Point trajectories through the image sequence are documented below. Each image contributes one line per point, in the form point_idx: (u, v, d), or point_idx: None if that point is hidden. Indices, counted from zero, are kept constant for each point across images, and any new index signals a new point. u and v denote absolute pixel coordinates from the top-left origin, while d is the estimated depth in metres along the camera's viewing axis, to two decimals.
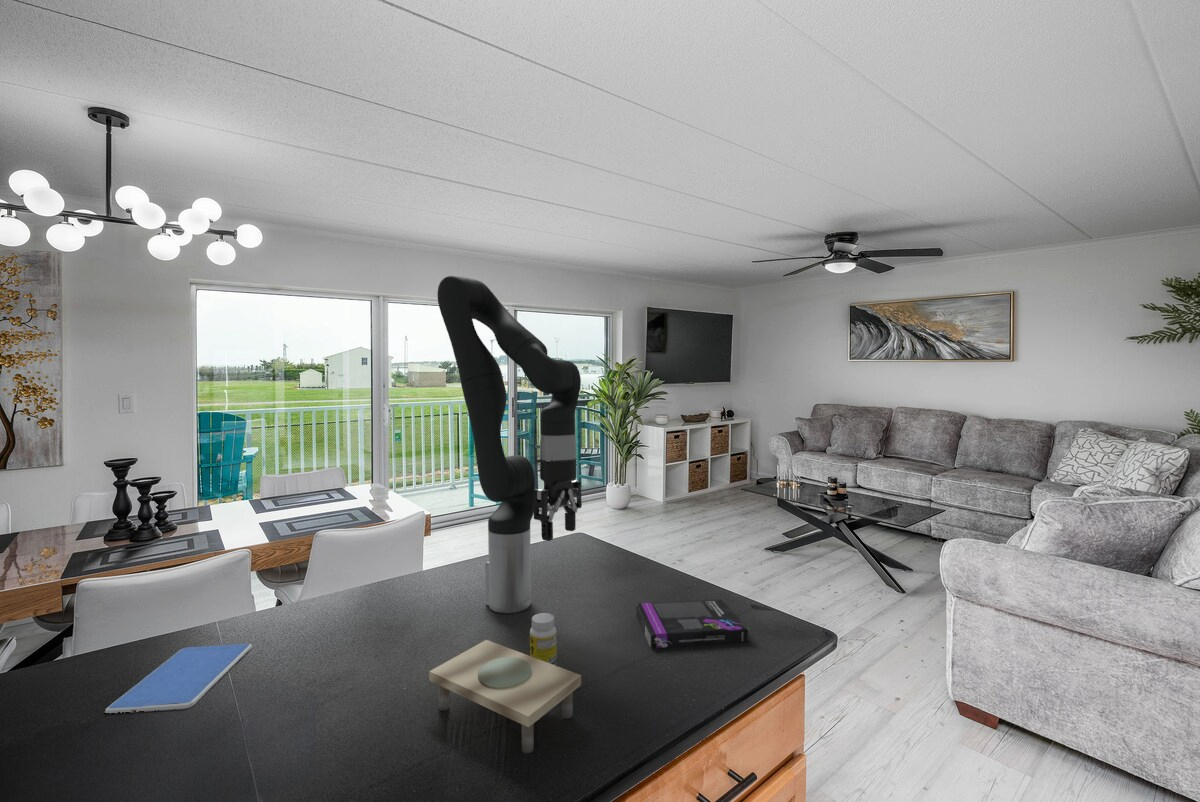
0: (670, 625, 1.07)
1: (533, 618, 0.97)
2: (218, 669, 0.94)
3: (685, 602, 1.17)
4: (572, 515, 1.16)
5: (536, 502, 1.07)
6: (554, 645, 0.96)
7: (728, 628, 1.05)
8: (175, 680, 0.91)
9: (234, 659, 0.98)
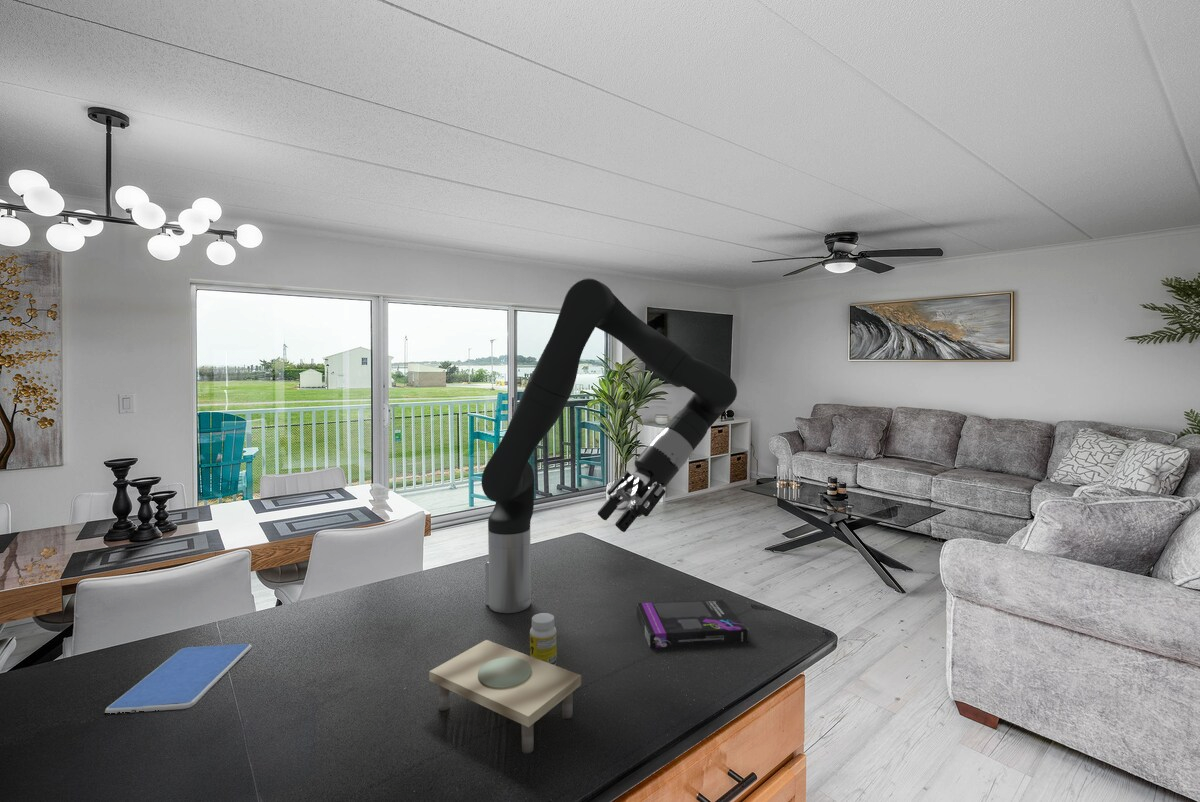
0: (670, 625, 1.07)
1: (533, 618, 0.97)
2: (218, 669, 0.94)
3: (685, 602, 1.17)
4: (615, 506, 1.06)
5: (651, 495, 0.97)
6: (554, 645, 0.96)
7: (728, 629, 1.05)
8: (175, 680, 0.91)
9: (234, 659, 0.98)
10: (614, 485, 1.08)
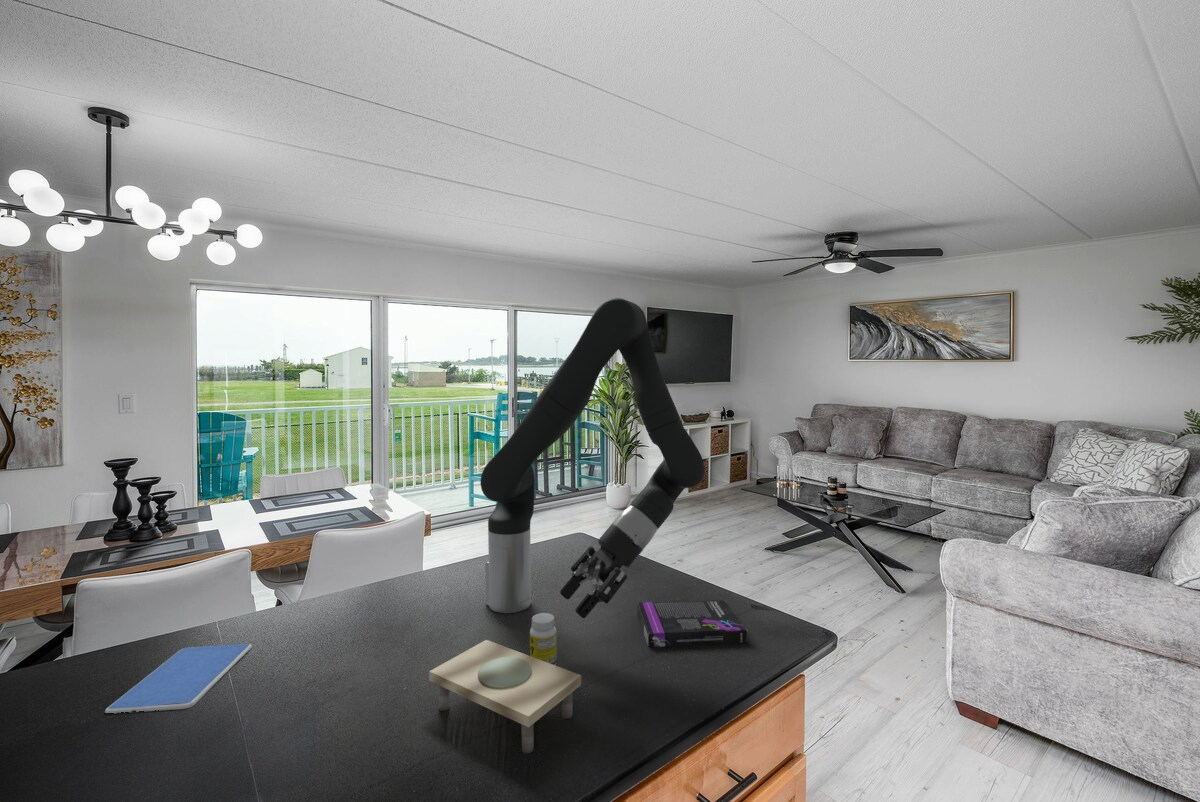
0: (669, 624, 1.07)
1: (533, 618, 0.97)
2: (218, 669, 0.94)
3: (686, 602, 1.17)
4: (578, 585, 1.04)
5: (612, 581, 0.94)
6: (554, 645, 0.96)
7: (727, 629, 1.05)
8: (175, 680, 0.91)
9: (234, 660, 0.98)
10: (578, 561, 1.06)
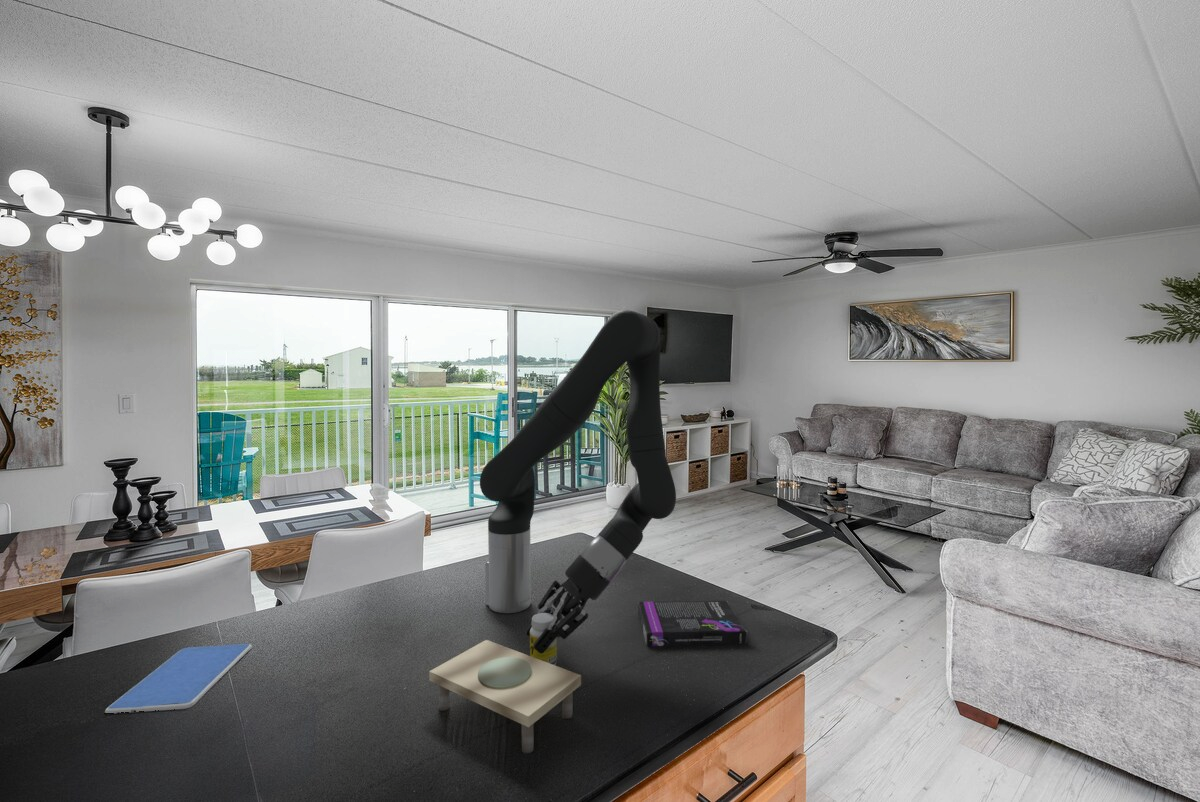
0: (668, 624, 1.07)
1: (533, 618, 0.97)
2: (218, 669, 0.94)
3: (687, 602, 1.17)
4: None
5: (571, 620, 0.92)
6: (554, 645, 0.96)
7: (726, 630, 1.05)
8: (175, 680, 0.91)
9: (234, 660, 0.98)
10: (544, 598, 1.03)
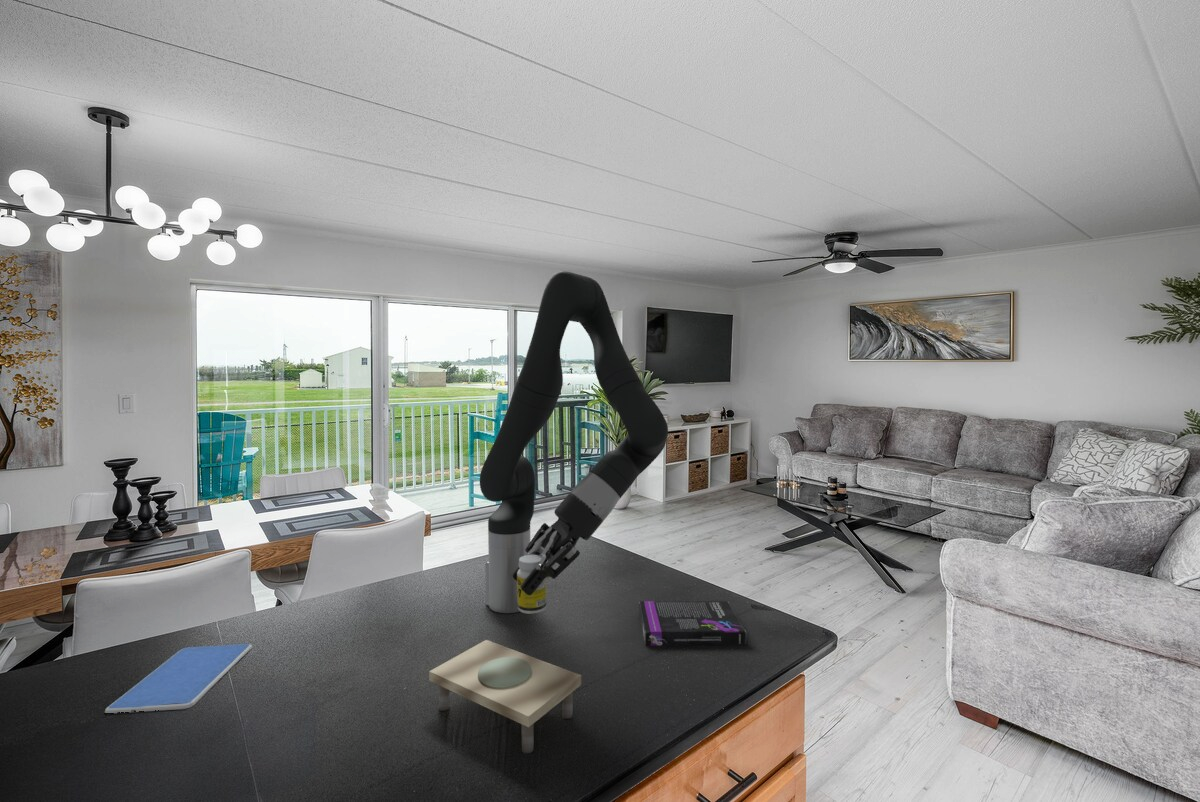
0: (667, 624, 1.07)
1: (520, 559, 0.90)
2: (218, 669, 0.94)
3: (688, 602, 1.17)
4: None
5: (561, 558, 0.86)
6: (543, 587, 0.90)
7: (725, 630, 1.05)
8: (175, 680, 0.91)
9: (234, 660, 0.98)
10: (532, 541, 0.96)
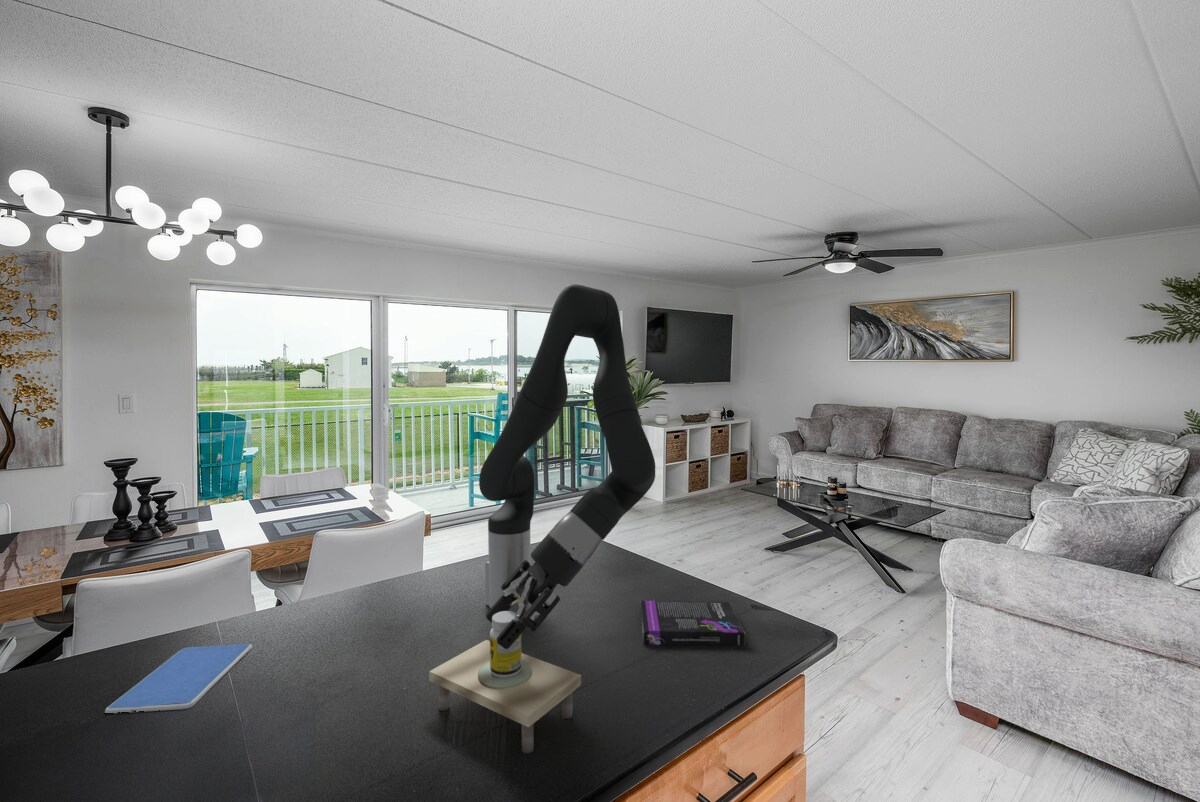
0: (666, 623, 1.07)
1: (493, 617, 0.83)
2: (218, 669, 0.94)
3: (689, 602, 1.17)
4: (508, 607, 0.87)
5: (540, 605, 0.78)
6: (518, 649, 0.82)
7: (724, 631, 1.04)
8: (175, 680, 0.91)
9: (234, 660, 0.98)
10: (510, 578, 0.90)
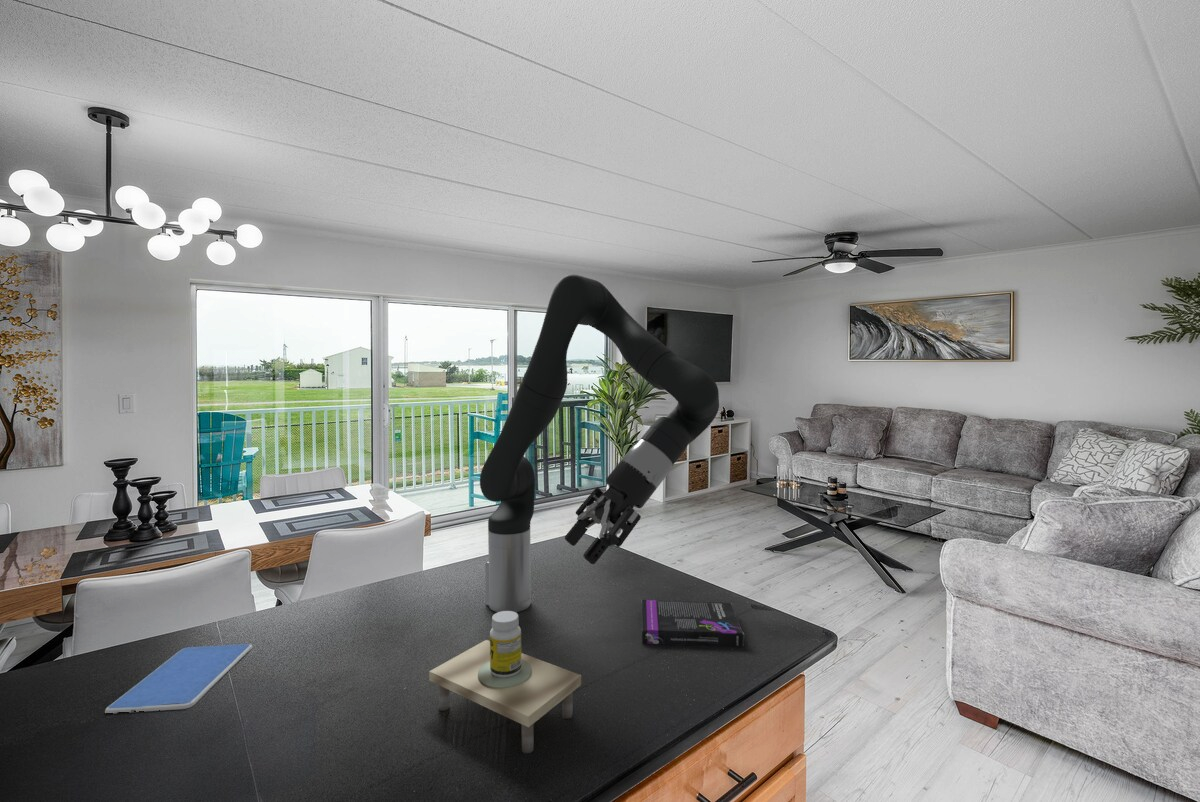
0: (665, 623, 1.08)
1: (493, 617, 0.83)
2: (218, 669, 0.94)
3: (690, 602, 1.17)
4: (585, 530, 0.93)
5: (624, 522, 0.83)
6: (518, 648, 0.82)
7: (722, 631, 1.04)
8: (175, 680, 0.91)
9: (234, 660, 0.98)
10: (584, 504, 0.95)
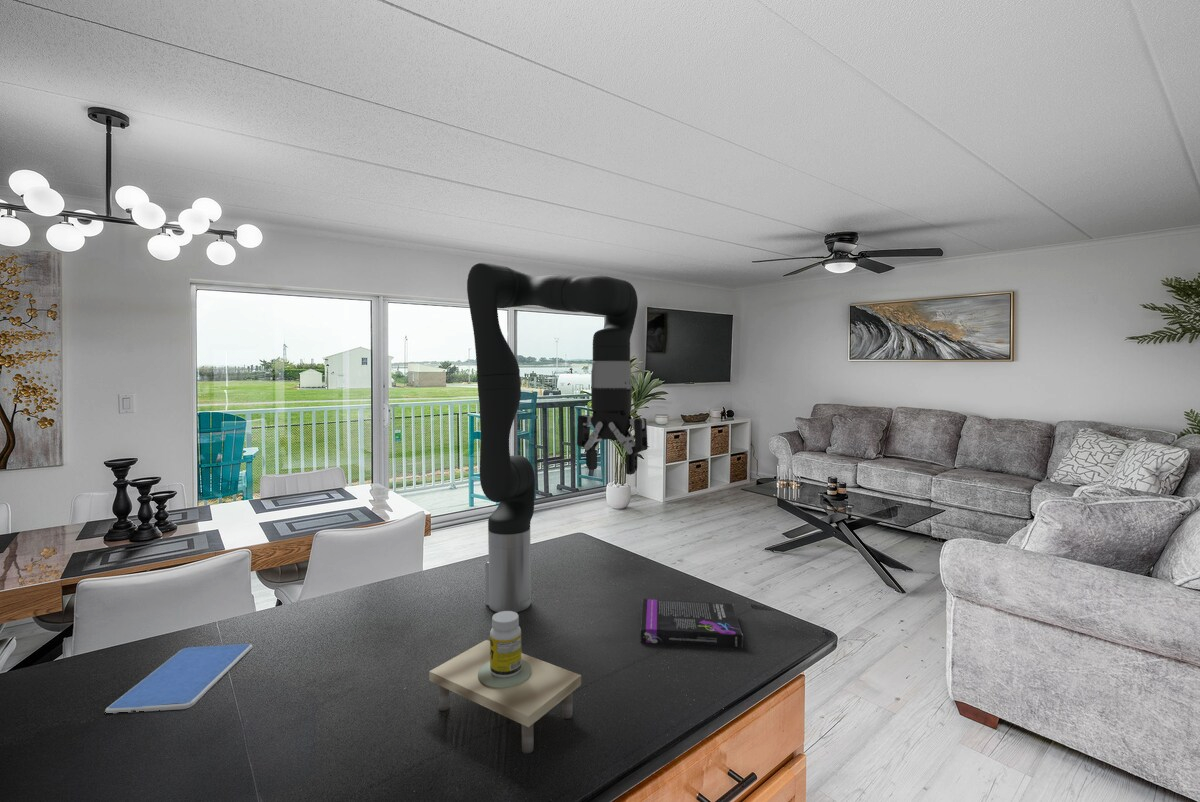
0: (664, 622, 1.08)
1: (494, 617, 0.83)
2: (218, 669, 0.94)
3: (691, 602, 1.17)
4: (596, 451, 1.06)
5: (641, 432, 0.99)
6: (518, 648, 0.82)
7: (721, 632, 1.04)
8: (175, 680, 0.91)
9: (234, 660, 0.98)
10: (580, 435, 1.06)
